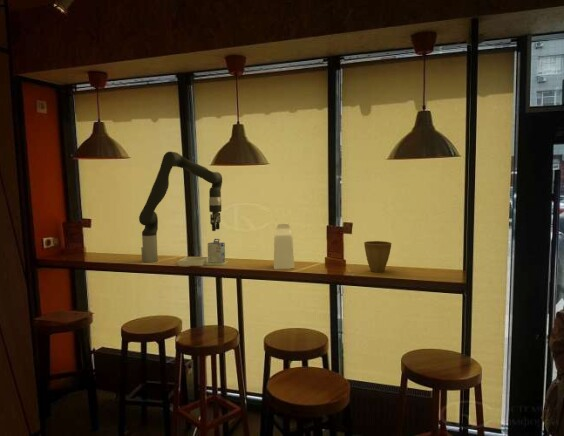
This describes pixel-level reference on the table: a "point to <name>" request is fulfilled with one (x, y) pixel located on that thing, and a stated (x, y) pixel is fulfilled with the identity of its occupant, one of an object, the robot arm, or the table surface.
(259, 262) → the table surface
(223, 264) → the tile
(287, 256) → the milk
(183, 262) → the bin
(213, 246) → the ink cartridge box
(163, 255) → the table surface
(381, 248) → the plant pot
